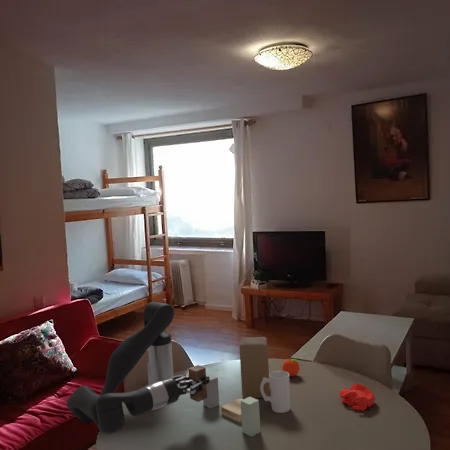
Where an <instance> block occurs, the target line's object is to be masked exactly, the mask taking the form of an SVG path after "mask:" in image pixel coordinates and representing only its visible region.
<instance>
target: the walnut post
mask: <svg viewBox="0 0 450 450" xmlns="http://www.w3.org/2000/svg"><path fill="white" fill-rule="evenodd" d="M187 369H188V375H189V380H191V379H192V380H198V379H201V378H203V377H206V376H207V371H206V370H207V369H206V367H204V366H202V365H199V364H198V365H195V366H194V365H193V366H192V367H191V366H190V367H189V368H187ZM195 384H196V383H195ZM195 384H194V385H195ZM190 387H191V383H190ZM206 398H207V384H205V385H203V390H202V391H200V392H199V393H197V394H196V395H195V396H190V395H189V399H191V400H192V401H195V402H197V403H199V402H201V401H203V400H204V399H206Z"/></svg>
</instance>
